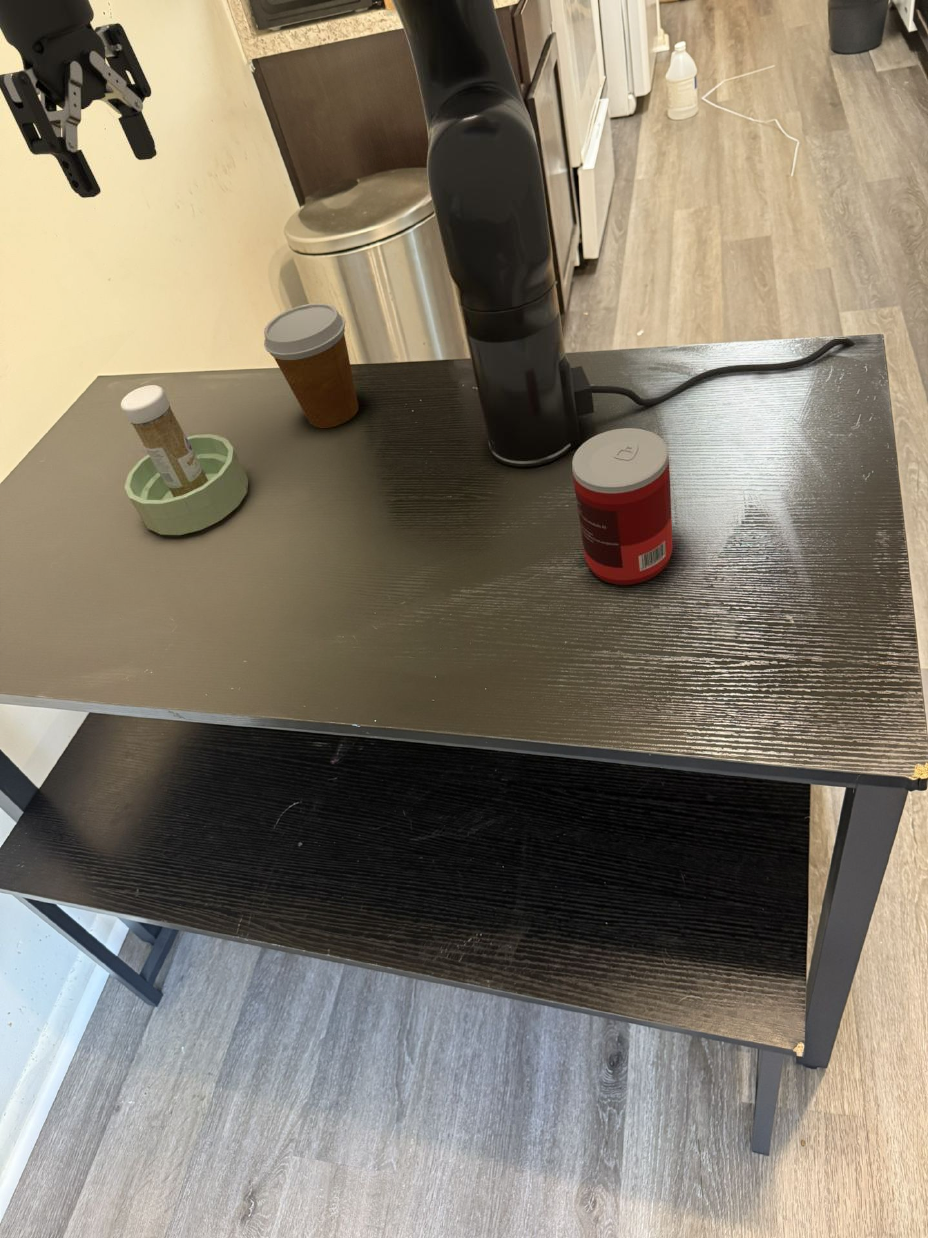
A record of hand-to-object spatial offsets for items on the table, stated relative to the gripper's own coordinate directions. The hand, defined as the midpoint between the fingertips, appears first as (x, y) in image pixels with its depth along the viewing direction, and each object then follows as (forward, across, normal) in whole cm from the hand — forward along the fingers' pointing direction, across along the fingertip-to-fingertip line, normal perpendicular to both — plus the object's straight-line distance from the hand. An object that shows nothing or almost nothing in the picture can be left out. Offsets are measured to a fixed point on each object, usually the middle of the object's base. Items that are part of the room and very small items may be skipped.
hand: (120, 176), depth 80 cm
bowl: (+32, -9, +1) cm, 33 cm away
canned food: (+32, -10, -48) cm, 59 cm away
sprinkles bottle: (+31, -9, +1) cm, 33 cm away
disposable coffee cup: (+32, +9, -7) cm, 34 cm away
